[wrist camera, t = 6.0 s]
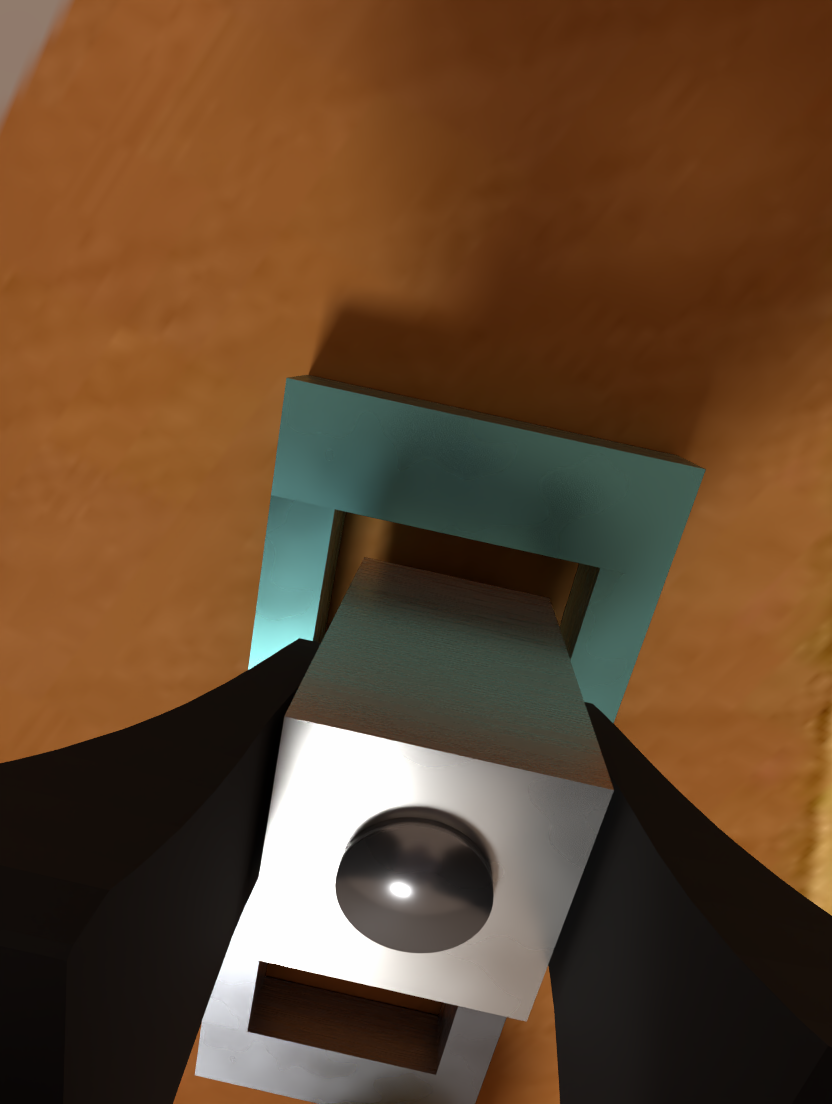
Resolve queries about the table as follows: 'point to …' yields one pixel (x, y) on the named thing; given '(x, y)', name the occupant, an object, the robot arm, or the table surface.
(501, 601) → the domed white cube
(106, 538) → the table surface
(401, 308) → the table surface
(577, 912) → the robot arm
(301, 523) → the teal silver rectangular frame
